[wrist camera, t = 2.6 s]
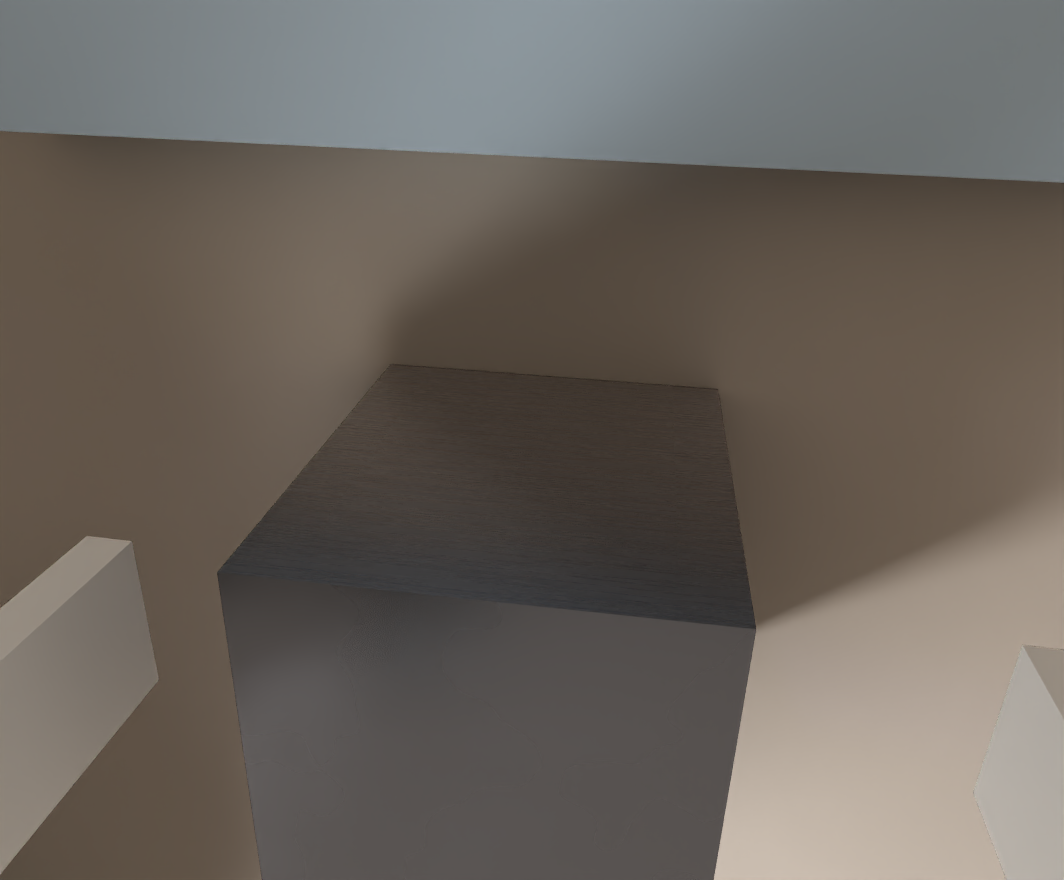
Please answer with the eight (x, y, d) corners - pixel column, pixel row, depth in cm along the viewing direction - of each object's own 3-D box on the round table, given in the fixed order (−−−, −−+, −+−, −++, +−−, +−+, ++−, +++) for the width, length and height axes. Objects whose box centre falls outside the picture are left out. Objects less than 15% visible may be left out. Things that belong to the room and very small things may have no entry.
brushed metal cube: (401, 627, 19) (269, 926, 12) (390, 364, 16) (217, 573, 10) (683, 658, 18) (694, 991, 12) (717, 389, 16) (755, 629, 9)
